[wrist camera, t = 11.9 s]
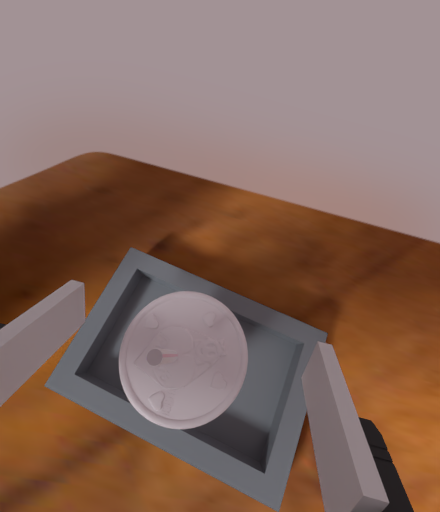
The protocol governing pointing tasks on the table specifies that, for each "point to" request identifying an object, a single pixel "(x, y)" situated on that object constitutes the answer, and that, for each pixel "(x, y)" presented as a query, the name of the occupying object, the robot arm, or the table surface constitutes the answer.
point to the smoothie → (183, 360)
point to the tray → (242, 408)
